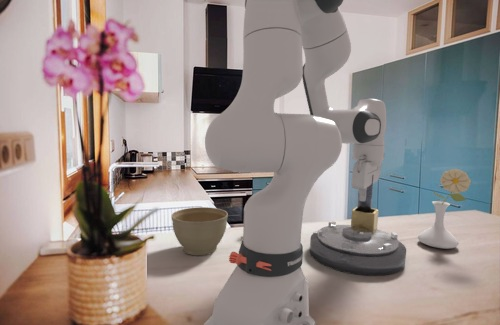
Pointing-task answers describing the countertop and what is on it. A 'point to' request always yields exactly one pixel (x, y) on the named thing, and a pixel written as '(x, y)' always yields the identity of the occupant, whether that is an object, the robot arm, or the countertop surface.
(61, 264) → the countertop surface
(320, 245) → the housing
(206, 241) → the planter bowl
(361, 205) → the pin
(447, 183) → the flower in vase
